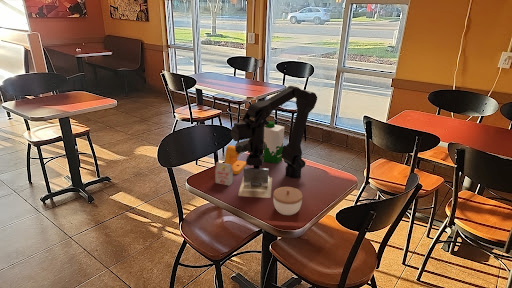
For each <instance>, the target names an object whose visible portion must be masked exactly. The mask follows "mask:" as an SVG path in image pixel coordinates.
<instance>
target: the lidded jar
mask: <svg viewBox="0 0 512 288" xmlns="http://www.w3.org/2000/svg"><path fill="white" fill-rule="evenodd" d="M272 196H273V206H274V208H275V209H276V211H277V213H279V214H281V215H284V216H292V215H295V214H296V213H298V211H299V210H300V209H301V206H302V202H303V192H302V191H301V190H300V189H298V188H295V187H293V186H292V187H291V186H281V187H278V188H276V189H275V190H274V191H273V195H272Z"/></svg>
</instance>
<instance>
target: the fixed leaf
mask: <svg viewBox="0 0 512 288" xmlns="http://www.w3.org/2000/svg"><path fill="white" fill-rule="evenodd" d="M269 178H270V175H268V182H269ZM250 183H251V182H244V186H250ZM262 187H268V183H262Z"/></svg>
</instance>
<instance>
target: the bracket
mask: <svg viewBox="0 0 512 288" xmlns="http://www.w3.org/2000/svg"><path fill="white" fill-rule="evenodd" d="M235 150H236V149H235V145H231V144H230V145H229V144H228V145H227V147H226V150H225V156H224V157H225V158H224V163H225V164H231V167H232V170H233V175H240V173H241V172H242V171H244V167H246V168H247V166H248V165H246V160H241V159H240V160H239V159H238V158H239V156H240V154H238V153H237V152H236V151H235Z"/></svg>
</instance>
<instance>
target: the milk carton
mask: <svg viewBox="0 0 512 288" xmlns="http://www.w3.org/2000/svg"><path fill="white" fill-rule="evenodd" d="M267 121H268V120H267ZM268 122H269V124H268V125H265V128H264V137H265V139H264V142H265V143H266V148H265V149H264V152H263V153H264V159H263V163H267V164H279V163H281V162H282V161H283V158H282V154H281V153H282V150H283V146H284V135H285V126H282V125H279V124H275V122H274V121H272V120H269V121H268ZM280 161H281V162H280Z"/></svg>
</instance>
